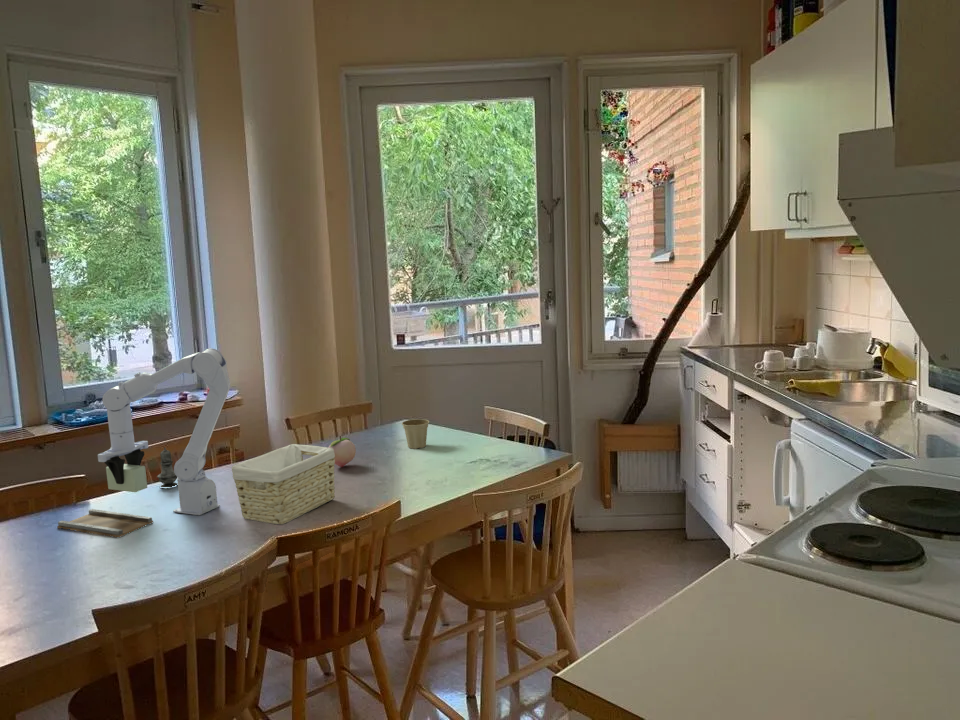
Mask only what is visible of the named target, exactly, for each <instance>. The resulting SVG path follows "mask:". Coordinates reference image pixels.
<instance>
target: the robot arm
mask: <svg viewBox="0 0 960 720" xmlns="http://www.w3.org/2000/svg"><path fill="white" fill-rule="evenodd" d="M227 365H228V363H227V360H226V359H225V357H224V355H223V354H222V352H220V350H218V349H215V348H213V347H212V348H211V347H210V348H207V349H204V350H203V351H202V352H200V351H199V352H195V353H193V354H189V355H187V356H185V357H182V358H180V359H178V360H177V361H175V362H173V363H171V364H169V365H167V366H166V367H163V368H161V369H160V370H158V371H156V372H154V373H149V372H142V373H141V372H138V373H135V374H134V375H133V376H134V377H132V378H130V379H128V380H126V381H124V382H123V381H120V382H118V383H117V385H116V386H114V387H111V388H109V389H108V390H107V391H105V392H104V394H103V395H102V405H103V406H104V407H105V408H106V412H107V413H106V414H107V423H108V431H109V439H110V448H109V449H107V450H105V451H104V452H100V453H98V454H97V461H98V463H104V464H105V465H106V467H109V469H110V470H111V472H112V474H113V476H114V478H115V481H116V483H117V484H124V472H123V471H124V464H125V462H126V464H130V465H139V466H141V465H142V461H143V459H144V457H145V451H143V450H146V449H148V448H149V441H148V440H140V441H136V442H135V436H134V434H135V433H134V425H133V418H132V411H131V403H135V402H137V401H139V400H141V399H143V398H144V397H147V396H149V395H151V394H152V393H155V392H156V390H157V388H158V385H159V384H161V383H163V382H166V381H169V380H170V379H173V378H175V377H177V376H180V375H181V374H184V373H185V374H189V375H192V374H194V373H195V374H196V375H197V376H199V378H201V379H202V380H204V382H205V385H206V386H207V387H208V389H209V390H208V392H207V396H206V398H205V401H204V403H203V406H202V407H201V408H202V409H201V411H200V412H199V416H198V418H197V420H196V423H195V425H194V427H193V432H192V434H191V436H190V439H189V441H188V444H187V446H186V447H185V449H184V451H183V454H182V456H181V457H180V458H179V459H178V460H176V462H175V464H174V465H173V471H174V473H175V475H176V476H177V479H176V481H177V484H178V486H177V489H178V490H177V491H178V498H179V499H178V500H179V507H177V508H175V509H173V513H179V514H187V515H193V516H202V515H203V514H206V513H207V512H210V511H212V510H214V509H217V508H219V507H220V506H221V504H220V503H218V497H217V485H216V483H215V481H213V480H212V479H210V478H208V477H207V475H206V472H205V471H204V469H203V468H204V467H205V465H206V461H207V460H206V453H207V449H208V445H209V442H210V439H211V438H212V435H213V432H214V429H215V426H216V424H217V422H218V420H219V417H220V414H221V411H222V409H223V407H224V404H225V401H226V399H227V397H228V394H229V392H230V389H231V381H230V376H229V372H228V367H227ZM122 456H124V457H125V459H124V458H121V457H122Z"/></svg>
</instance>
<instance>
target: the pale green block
mask: <svg viewBox="0 0 960 720" xmlns="http://www.w3.org/2000/svg"><path fill="white" fill-rule="evenodd" d="M105 472H106V479H107V480H106V481H107V488H108V490H113V491H122V492H130V493H137V492H140V491H143V490H145V489H148V480H147V474H146V473H147V472H146V466H145V465H140V466H139V465H130V464H127V463H124V471H123V472H124V484H117V483H116V481H115V478H114V476H113V474H112V472H111V470H110V469H109V467H108V466H106V467H105Z"/></svg>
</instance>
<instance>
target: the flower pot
mask: <svg viewBox="0 0 960 720" xmlns="http://www.w3.org/2000/svg"><path fill="white" fill-rule="evenodd" d="M429 423H430V420H428V419H426V418H425V419H423V418H416V419H415V418H414V419H412V418H411V419H406V420H404V421H402V422H401V425H402V426H403V429H404V435H405V439H406V444H407V448H409V449H414V450H418V449H423V448H425V447H427V436H428V427H429Z"/></svg>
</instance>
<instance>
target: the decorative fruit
mask: <svg viewBox="0 0 960 720" xmlns="http://www.w3.org/2000/svg"><path fill="white" fill-rule="evenodd" d="M327 448H333V450H334V454H335V457H334V459H335V464H334V465H336V466H337V467H340V468H343V467H345V466H346V465H347V464H349V463H350V462H351V461H353V460H354V458H355V456H356V452H357V451H356V450H357V449H356V445H355V444H354V443H353V441H351V439H350V438H348V437H342V435H340V436H339V438H338V439H336V440H334V441H332V442H331V443H330V444H329V446H328V447H327Z"/></svg>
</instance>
